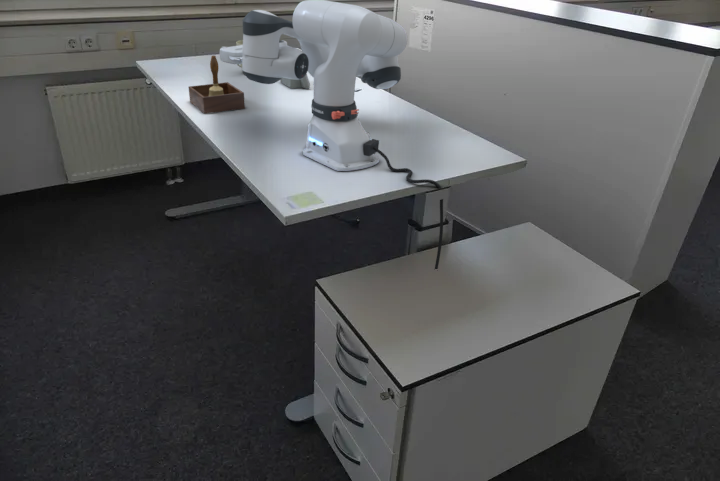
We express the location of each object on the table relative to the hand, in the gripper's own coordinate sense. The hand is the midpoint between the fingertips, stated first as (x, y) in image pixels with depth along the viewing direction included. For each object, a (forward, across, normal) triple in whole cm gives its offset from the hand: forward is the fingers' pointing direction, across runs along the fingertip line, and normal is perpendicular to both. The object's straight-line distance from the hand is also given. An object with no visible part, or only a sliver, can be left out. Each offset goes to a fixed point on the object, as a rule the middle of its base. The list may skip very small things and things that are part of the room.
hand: (235, 47), depth 171 cm
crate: (+12, 0, -21) cm, 24 cm away
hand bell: (+12, 0, -21) cm, 24 cm away
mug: (+38, +34, -21) cm, 55 cm away
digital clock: (+14, +38, -21) cm, 46 cm away
